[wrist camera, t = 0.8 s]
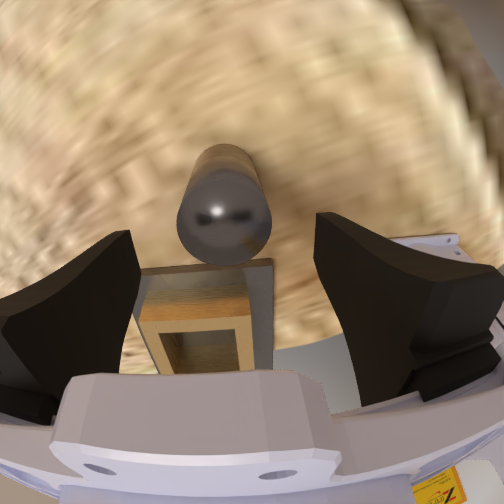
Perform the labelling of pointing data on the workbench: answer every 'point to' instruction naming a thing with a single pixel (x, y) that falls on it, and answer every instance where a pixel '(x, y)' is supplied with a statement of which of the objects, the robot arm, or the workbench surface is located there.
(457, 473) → the packaging box
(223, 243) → the dark grey cylinder
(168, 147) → the workbench surface
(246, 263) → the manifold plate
